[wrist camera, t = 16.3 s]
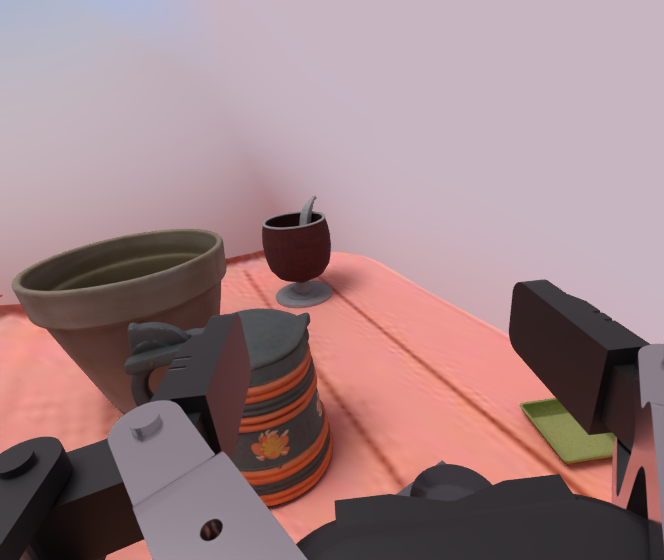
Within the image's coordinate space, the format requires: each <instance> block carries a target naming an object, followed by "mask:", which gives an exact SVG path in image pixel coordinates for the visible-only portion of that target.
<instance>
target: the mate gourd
mask: <svg viewBox="0 0 664 560" xmlns="http://www.w3.org/2000/svg"><path fill="white" fill-rule="evenodd" d="M315 199H316V196H313V197H312V198H311V199H310V200H309V201H308V202H307V203H306V205H305V206H304V207H303V209H302V211H301V212H292V213H285V214H280V215H276V216H273V217H270V218H268V219H266V220H265V221H263V223H262V225H263V229H262V239H263V248H264V253H265V257H266V259H267V262H268V265H269V267H270V269H271V271H272V272H273V273H275V274H276V275H277V276H278V277H279V278H280V279H282V280H285V281H291V282H296V283H294V284H290V285H288V286H286V287H284V288H282V289H281V290H280V291H279V292H278V293H277V295H276V299H277V302H278V303H279V304H280V305H282V306H284V307H288V308H307V307H312V306H316V305H318V304H321V303H323V302H325V301H326V300H328V299H329V298H330V297H331V295H332V289H331V287H330V286H329V285H328V284H326V283H323V282H319V281H309V280H311V279H313V278H316V277H318V276H319V275H321V274H322V273H323V272H324V270H325V268H326V267H327V265H328V263H329V260H330V251H331V249H330V248H331V243H330V233H329V229H328V225H327V222H326V219H325V215H324V214H323V213H320V212H313V211H312V207H313V203H314V200H315Z"/></svg>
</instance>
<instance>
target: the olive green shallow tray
mask: <svg viewBox="0 0 664 560" xmlns="http://www.w3.org/2000/svg"><path fill="white" fill-rule="evenodd" d="M520 407H521V409H522V410H523V412H524V413H525V414H526V416H527V417H528V418H529V419H530V421H531V422H532V423H533V424H534V426H535V427H536V428H537V429H538V431H539V432H540V433H541V434H542V436H543V437H544V438H545V439H546V441H547V442H548V443H549V444H550V446H551V447H552V448H553V449H554V451H555V452H556V453H557V454H558V456H559V457H560V458H561V460H562V461H563V462H564V463H566V464H571V463H577V462H583V461H590V460H596V459H602V458H609V457H613V446H614V442H615V438H616V436H615V435H614V434H613V433H604V434H595V435H588V434H587V433H586V432H585V430H584V429H583V428H582V427H581V426H580V425H579V424H578V422H577V421H576V420H575V419H574V418H573V417H572V416H571V414H570V413H569V412H568V411H567V410H566V409H565V407H564V406H563V405H562V404H561V403H560V402H559V401H558V399H557V398H553V399H545V400H538V401H531V402H525V403H521V404H520Z"/></svg>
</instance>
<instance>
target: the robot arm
mask: <svg viewBox="0 0 664 560" xmlns="http://www.w3.org/2000/svg"><path fill="white" fill-rule="evenodd" d="M509 337H510V341H511V344H512V347H513V348H514V350H515V351H516V353H517V354H518V355H519V356H520V357H521V358H522V359H523V361H524V362H525V363H526V364H527V365H528V366H529V367H530V369H531V370H532V371H533V372H534V373H535V374H536V375H537V377H538V378H539V379H540V380H541V381H542V382H543V383H544V385H545V386H546V387H547V388H548V389H549V390H550V391H551V393H552V394H553V395H554V396H555V397H556V398H557V399H558V401H559V402H560V403H561V404H562V405H563V406H564V407H565V409H566V410H567V411H568V412H569V413H570V414H571V416H572V417H573V418H574V419H575V420H576V421H577V422H578V424H579V425H580V426H581V427H582V428H583V429H584V430H585V432H586V433H587V434H588V435H595V434H604V433H613V434H614V435H615V436H616V438H615V442H614V446H613V464H612V503H609V502H606V501H602V500H599V499H596V498H592V497H587V496H583V495H577V494H573V493H572V492H571V490H570V489H569V488H568V486H567V485H566V483H565V482H564V480H563V479H562V478H561V476H560V475H559V474H557V475H548V476H540V477H531V478H523V479H514V480H506V481H502V482H500V483H497V484H495V485H492V486H490V487H488V488H485V489H483V490H480V491H478V492H475V493H473V494H470V495H468V496H465V497H463V498H460V499H458V500H455V501H443V500H434V499H426V498H418V497H410V496H401V495H393V494H387V495H378V496H370V497H361V498H353V499H344V500H336V501H335V514H336V520H335V521H332V522H330V523H327V524H325V525H323V526H321V527H320V528H318V529H316V530H314V531H313V532H311V533H310V534H308V535H307V536H306V537H304V538H303V539H302V540H300V541H299V542H298V543H297V544H295V543H294V541H293V540H292V539H291V537H290V536H289V535H288V534H287V532H286V531H285V530H284V528H283V527H282V526H281V524H280V523H279V522H278V521H277V519H276V518H275V517H274V515H273V514H272V513H271V511H270V510H269V509H268V508H267V506H266V505H265V504H264V502H263V501H262V500H261V498H260V497H259V496H258V495H257V493H256V492H255V491H254V489H253V488H252V487H251V486H250V484H249V483H248V482H247V480H246V479H245V478H244V476H243V475H242V474H241V473H240V471H239V470H238V469H237V467H236V466H235V465H234V463H233V462H232V459H233V455H234V450H235V446H236V441H237V437H238V432H239V428H240V424H241V419H242V415H243V410H244V406H245V401H246V397H247V392H248V388H249V383H250V378H251V365H250V358H249V353H248V349H247V344H246V340H245V335H244V331H243V326H242V322H241V318H240V316H239V314H238V313H235V314H226V315H217V316H211V317H210V319H209V321H208V323H207V325H206V327H205V329H204V331H203V333H202V334H198V335H193V336H192V337H191V338H190V339H189V340H187V341H186V342H185V343H184V344H183V345H182V346H181V347H180V349H179V350H178V352H177V354H176V356H175V357H174V360H173V361H172V363H171V365H170V366H169V370H168V371H167V372H166V374H165V375H164V377H163V379H162V381H161V383H160V384H159V386H158V388H157V390H156V392H155V393H154V395H153V397H152V399H151V400H150V402H149V403H146V404H143V405H141V406H139V407H136V408H135V409H133V410H131V411H129V412H128V413H126V414H125V415H124V416H122V417H121V418H120V419H119V420H118V421H117V422H116V423H115V424H114V426H113V427H112V428H111V430H110V432H109V435H108V439H105V440H102V441H100V442H97V443H94V444H91V445H88V446H85V447H82V448H79V449H76V450H73V451H70V452H67V453H66V452H65V450H64V448H63V446H62V444H61V442H60V441H59V440H58V439H56V438H53V437H39V438H34V439H30V440H27V441H24V442H22V443H19V444H17V445H15V446H13V447H11V448H9V449H7V450H6V451H4V452H2V453H1V454H0V560H105V558H106V555H108V554H110V553H113V552H115V551H117V550H120V549H122V548H124V547H127V546H129V545H131V544H134V543H136V542H139V541H141V540H143V539H145V541H146V544H147V546H148V549H149V551H150V554H151V556H152V559H153V560H664V344H649V343H648V342H646V341H645V340H643V339H642V338H640V337H639V336H637V335H636V334H634V333H633V332H631V331H629V330H628V329H627V328H625V327H624V326H622V325H621V324H619V323H618V322H616V321H612V318H610V317H609V316H607V315H606V314H604V313H600V310H598V309H597V308H595V307H594V306H592V305H591V304H589V303H588V302H587V301H584V300H582V299H579V298H576V297H574V296H571V295H569V294H566V293H565V292H563V291H562V290H560V289H559V288H558V287H556V286H555V285H553V284H552V283H550V282H549V281H547V280H536V281H526V282H518V283H516V284H515V286H514V289H513V295H512V305H511V315H510V324H509Z"/></svg>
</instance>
